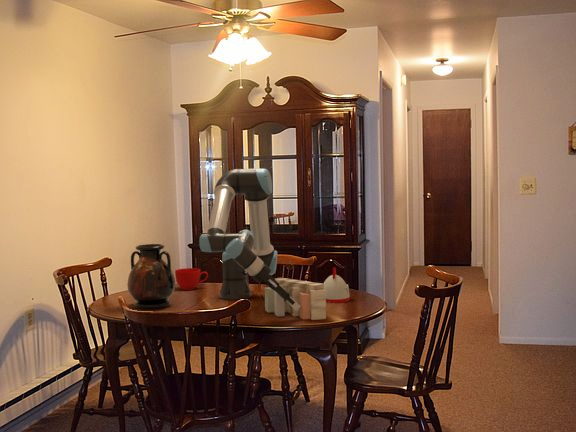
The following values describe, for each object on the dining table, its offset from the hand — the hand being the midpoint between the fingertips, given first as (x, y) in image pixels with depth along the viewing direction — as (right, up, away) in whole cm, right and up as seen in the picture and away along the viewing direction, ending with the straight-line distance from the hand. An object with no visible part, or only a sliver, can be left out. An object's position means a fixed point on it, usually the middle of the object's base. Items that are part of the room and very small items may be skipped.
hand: (298, 308), depth 278 cm
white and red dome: (+18, -2, +38) cm, 42 cm away
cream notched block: (0, -4, +10) cm, 11 cm away
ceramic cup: (-54, 0, +76) cm, 93 cm away
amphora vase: (-66, -4, +34) cm, 75 cm away
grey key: (-8, -4, +8) cm, 12 cm away
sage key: (-12, -3, +16) cm, 20 cm away
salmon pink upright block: (+3, -4, +1) cm, 5 cm away
